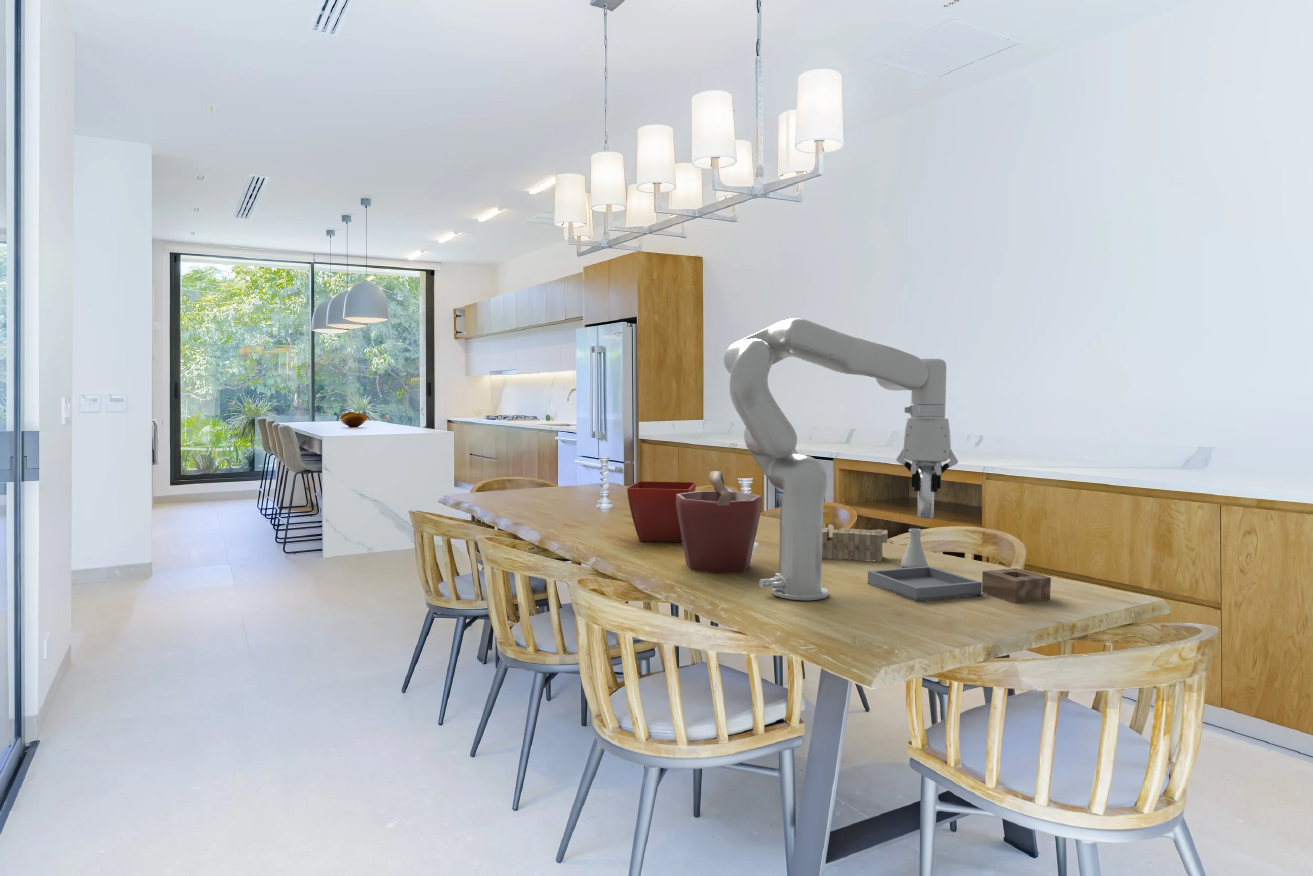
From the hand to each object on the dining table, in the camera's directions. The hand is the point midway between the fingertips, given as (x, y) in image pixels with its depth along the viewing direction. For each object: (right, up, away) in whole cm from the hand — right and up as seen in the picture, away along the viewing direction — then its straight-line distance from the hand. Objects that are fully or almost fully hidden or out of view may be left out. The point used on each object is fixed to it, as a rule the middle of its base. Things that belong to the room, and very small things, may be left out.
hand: (926, 490), depth 187 cm
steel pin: (0, -6, 0) cm, 6 cm away
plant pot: (-61, -19, +64) cm, 91 cm away
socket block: (+19, -24, -4) cm, 31 cm away
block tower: (-13, -21, +39) cm, 46 cm away
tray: (0, -23, +1) cm, 23 cm away
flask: (+6, -22, +26) cm, 34 cm away
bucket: (-47, -22, +24) cm, 57 cm away
